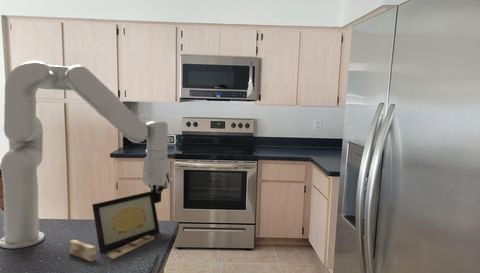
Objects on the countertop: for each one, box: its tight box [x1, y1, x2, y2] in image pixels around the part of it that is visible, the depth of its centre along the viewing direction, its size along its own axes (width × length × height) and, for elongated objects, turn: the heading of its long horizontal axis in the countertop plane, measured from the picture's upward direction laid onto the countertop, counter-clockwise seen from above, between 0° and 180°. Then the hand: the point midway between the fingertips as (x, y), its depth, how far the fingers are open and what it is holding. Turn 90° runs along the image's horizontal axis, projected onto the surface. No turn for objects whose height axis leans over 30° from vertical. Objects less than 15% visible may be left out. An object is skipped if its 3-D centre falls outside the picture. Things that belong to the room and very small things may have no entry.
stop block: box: [69, 239, 97, 262], centre depth 103 cm, size 10×2×4 cm, turn 62°
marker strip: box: [105, 235, 155, 260], centre depth 111 cm, size 3×18×1 cm, turn 152°
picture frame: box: [91, 190, 160, 252], centre depth 118 cm, size 23×9×15 cm, turn 143°
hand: (156, 202), depth 127 cm, fingers closed
